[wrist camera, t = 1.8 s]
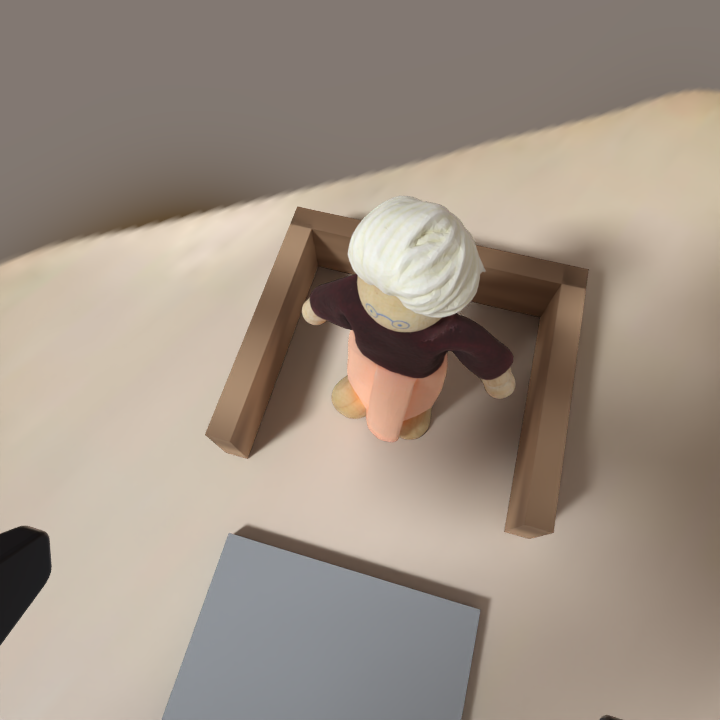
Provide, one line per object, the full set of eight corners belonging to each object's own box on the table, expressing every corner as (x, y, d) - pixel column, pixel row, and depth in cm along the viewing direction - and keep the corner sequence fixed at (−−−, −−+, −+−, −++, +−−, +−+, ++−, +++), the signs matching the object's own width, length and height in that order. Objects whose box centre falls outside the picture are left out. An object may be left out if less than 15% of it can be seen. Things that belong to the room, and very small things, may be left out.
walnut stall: (529, 538, 21) (553, 532, 18) (225, 452, 22) (205, 434, 20) (564, 303, 25) (588, 269, 22) (305, 245, 26) (297, 206, 24)
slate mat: (416, 953, 16) (418, 967, 15) (124, 837, 17) (116, 846, 17) (477, 608, 20) (480, 609, 19) (232, 534, 21) (228, 532, 20)
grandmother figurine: (300, 427, 23) (222, 266, 11) (322, 349, 24) (274, 133, 12) (476, 467, 22) (594, 339, 10) (488, 383, 23) (605, 186, 12)
